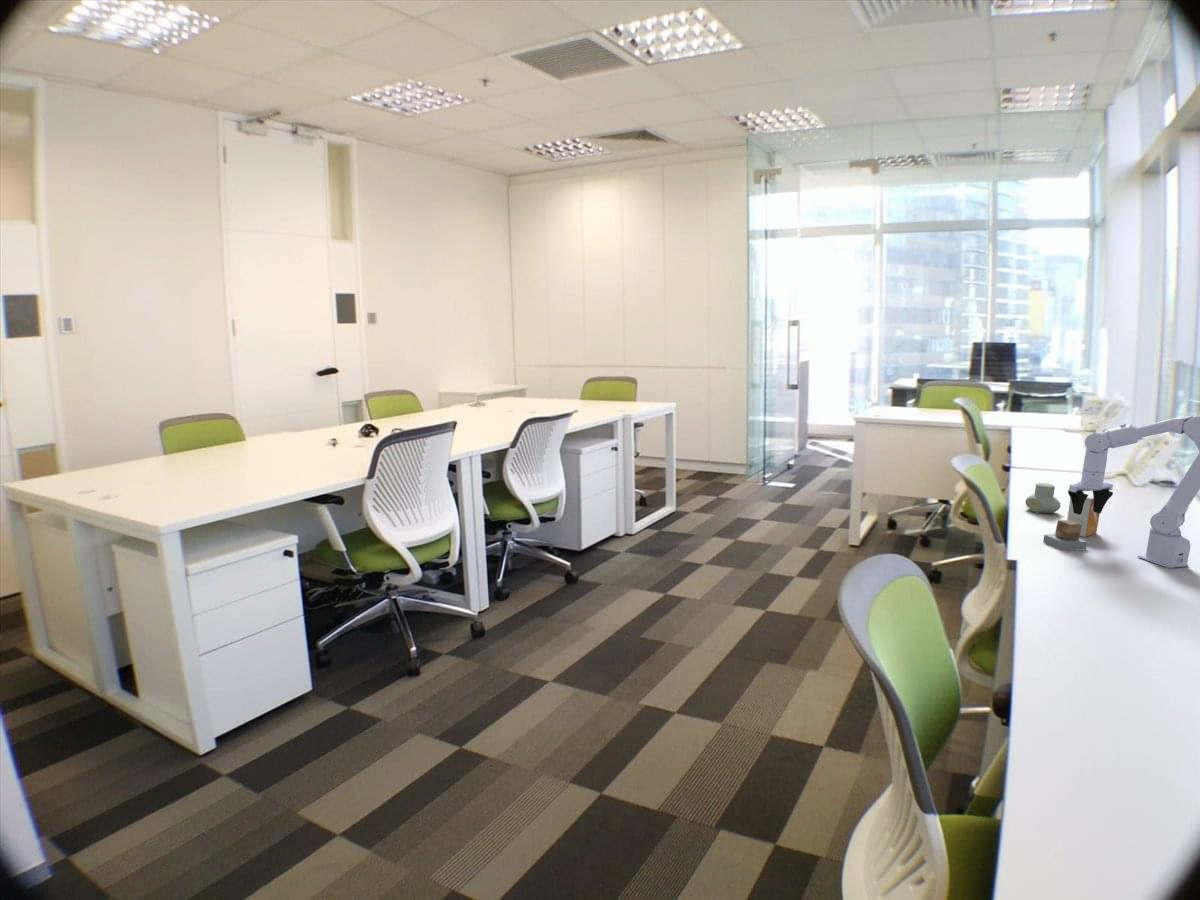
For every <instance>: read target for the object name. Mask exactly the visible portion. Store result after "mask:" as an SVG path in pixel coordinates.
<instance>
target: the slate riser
mask: <svg viewBox="0 0 1200 900" xmlns="http://www.w3.org/2000/svg"><path fill="white" fill-rule="evenodd" d="M1042 541H1043V543H1044V542H1045V543H1044V544H1046V543H1047V544H1046V545H1048V546H1050V547H1051V546H1052V547H1054V548H1056V549H1058V548H1059V550H1061V549H1062V550H1061V551H1063V550H1065V551H1077V550H1076V549H1086V550H1087V545H1088V541H1086V540H1084V539H1082V538H1079V540H1066V539H1063V538H1060V537H1057V536H1055V533H1050V534H1048V533H1047V534H1043V540H1042Z"/></svg>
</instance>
